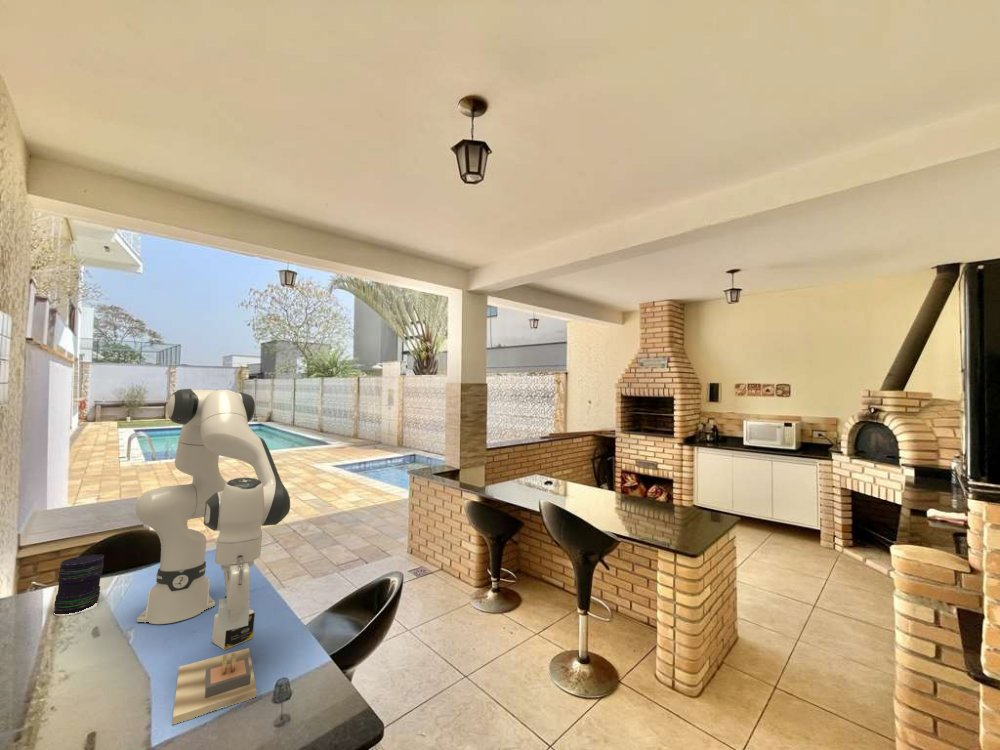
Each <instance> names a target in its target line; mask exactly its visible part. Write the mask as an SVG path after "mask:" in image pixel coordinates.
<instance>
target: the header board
mask: <svg viewBox="0 0 1000 750" xmlns="http://www.w3.org/2000/svg"><path fill="white" fill-rule="evenodd" d="M177 673H178V674H177V681H176V691H175V696H174V697H175V698H174V704H173V705H174V706H173V714H172V722H171V723H172V724H171V726H174V725H173V724H175V725H178V724H181V723H184V722H187V721H189V720H192V719H196V718H199V717H202V716H203V715H202V714H205V713H208V712H211V713H213V712H212V711H214V710H217V709H219V708H221V707H225V706H229V707H231V706H230V705H232V706H235V705H238V704H240V703H244V702H246V701H250V700H253V699H256V698H257V691H258V690H257V685H256V678H255V674H254V667H253V663H252V656H251V652H250V648H249V647H247V648H244V649H240V650H236V651H232V652H228V653H225V654H222V655H217V656H214V657H213V656H212V657H209V658H206V659H203V660H199V661H195V662H192V663H188V664H184V665H180V666H178V672H177ZM255 697H256V698H255ZM252 698H253V699H252ZM249 699H250V700H249ZM237 703H238V704H237ZM234 704H235V705H234ZM217 711H218V710H217ZM214 712H215V711H214ZM208 714H209V713H208ZM201 715H202V716H201ZM205 715H206V714H205ZM198 716H199V717H198ZM195 717H196V718H195ZM183 721H184V722H183ZM180 722H181V723H180ZM177 723H178V724H177Z"/></svg>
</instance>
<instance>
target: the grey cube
mask: <svg viewBox="0 0 1000 750" xmlns="http://www.w3.org/2000/svg"><path fill="white" fill-rule="evenodd" d="M250 605H251V599H249V600H248V604H247V605H246V606H244V607H242V608H241V612H240V619H239V621H238V622H234V623H230V609H228V605H227V598H224V597H223V598H219V599H218V607H217V609H218V610H217V614H218V618H217V631H218V633H220V632H224V631H228V630H232V629H236V628H240V627H244V626H248V620H249V609H251V608H250Z"/></svg>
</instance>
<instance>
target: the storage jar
mask: <svg viewBox="0 0 1000 750" xmlns="http://www.w3.org/2000/svg"><path fill="white" fill-rule="evenodd" d="M104 558H105V555H104V554H98V553H97V554H88V555H81V556H74V557H71V558H68V559H67V558H66V559H64V560H62V561H61V562H60V565H59V566H60V567H59V571H58V578H57V580H58V581H57V583H58V587H57V594H56V595H55V601H54V609H53V610H54V611H53V614H54V613H55V614H69V613H75V612H79V611H82V610H84V609H86V608H89V607H91V606H93V605H94V604H95V603H97V601H99V598H100V594H101V592H100V591H101V585H100V583H101V582H100V581H101V576H102V574H103V569H104Z"/></svg>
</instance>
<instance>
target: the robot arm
mask: <svg viewBox="0 0 1000 750" xmlns="http://www.w3.org/2000/svg"><path fill="white" fill-rule="evenodd" d="M255 411H256V404H255V399H254V398H253V396H252V395H251V394H248V393H245V392H242V391H240V392H235V391H234V390H229V389H192V388H183V389H177V390H176V391H174V392H173V393H172V394H171V396H170V397H169V400H168V401H167V406H166V412H167V415H168V418H169V420H170V421H171V422H172V423H175V424H179V425H182V426H181V429H180V433H179V437H178V442H177V448H176V454H175V458H174V467H176V469H177V470H178V471H179V472H181V473H183V474H186V475H188V476H192V483H189V484H178V485H167V486H163V487H158V488H153V489H151V490H147V491H145V492H144V493H143V494H142V495H141V496H140V497H139V498H138V500H137V501H136V504H135V516H136V517H137V518H138V520H139V521H140V522H141V523H143V524H144V525H146V526H148V527H150V528H151V529H152V530H153V531H154V532H155V533H156V534H157V536H158V538H159V541H160V549H161V550H160V563H159V564H160V565H159V568H158V569H157V572H156V579H155V580H156V584H155V585H154V586H153V587H152V588H151V589H150V590H149V591H148V595H147V603H146V608H145V609H144V611H142V612H141V614H140V615H139V616H138V617H137V618H136V622H137V621H138V622H144V623H146V622H149V623H148V624H153V625H164V624H172V623H177V622H180V621H181V622H182V621H186V620H188V619H191V618H193V617H196V616H198V615H200V614H202V613H203V612H205V611H207V610H209V609H211V607H212V608H214V607H215V606H216V601H215V600H214V599H213V598H212V596H211V595H210V587H211V586H210V585H211V584H210V583H211V582H210V581H211V580H210V579H209V578H208V577H206V575H205V574H206V570H207V562H206V561H205V559H206V549H207V538H206V536H205V534H204V533H203V532H201V531H198V530H195V529H191V528H189V526H188V522H189V520H193V519H199V518H200V519H201V518H203V525H204V526H206V527H207V528H208V529H210V530H212V531H214V532H215V531H216V532H217V531H218V532H219V534H218V535H217V538H216V547H215V557H214V562H215V564H217V565H220V569H221V570H222V571H223V579H224V586H225V596H227V605H228V609H230V623H234V622H238V621H239V619H240V612H241V608H242V607H244V606H246V605H247V604H248V600H250V587H251V586H250V584H251V583H250V582H251V572H250V571H251V569H250V567H252V566H253V565H254V564H255V560H257V559H259V558H260V557H261V553H262V540H263V539H262V538H263V531H262V527H265V526H277V525H278V524H279V523H281V521H283V520H284V519H285V518H286V517H287V515H288V514H289V513H290V510H291V498H290V494H289V492H288V490H287V488H286V487H285V485H284V484H283V482H282V479H281V478H280V474H279V472H278V469H277V467H276V463H275V461H274V460H273V459H274V458H273V456H272V454H271V451H270V450H269V447H268V444H267V443H266V441H265V439H264V438H262V437H261V436H258V435H257V434H256V433H255V432H254V431H253V429H252V428H251V427H250V425H249V422H251V420H252V419H253V417H254V415H255ZM220 456H221V457H226V458H228V459H229V458H231V459H234V460H237V461H238V460H239V461H242V462H244V463H247V464H249V465H250V466H251V467H252V468H253V469H254V472H255V474H256V477H257V478H253V477H238V478H234V479H231V480H229V481H227V480H226V479H225V478H224V477H223V476H222V474H221V471H220V468H219V459H220ZM213 606H214V607H213ZM208 608H209V609H208ZM206 609H207V610H206ZM204 610H205V611H204ZM201 612H202V613H201ZM138 622H137V623H138Z"/></svg>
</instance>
